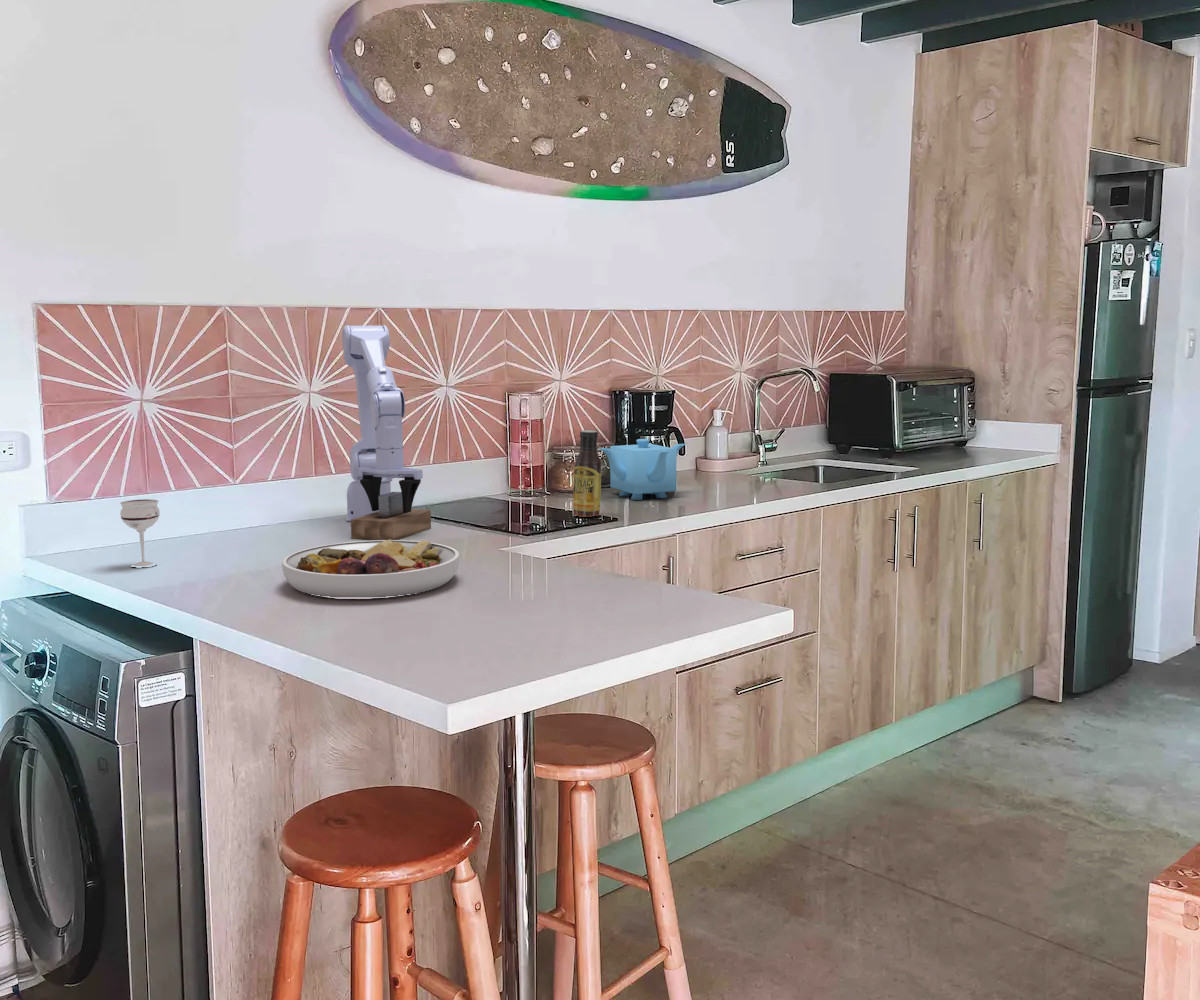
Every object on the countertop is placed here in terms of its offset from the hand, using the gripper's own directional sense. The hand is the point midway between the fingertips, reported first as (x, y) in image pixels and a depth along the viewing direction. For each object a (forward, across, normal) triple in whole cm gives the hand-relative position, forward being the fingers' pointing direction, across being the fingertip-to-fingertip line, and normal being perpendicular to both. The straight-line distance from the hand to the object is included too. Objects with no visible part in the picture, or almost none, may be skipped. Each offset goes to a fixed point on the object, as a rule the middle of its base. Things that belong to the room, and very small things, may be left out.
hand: (391, 511), depth 246 cm
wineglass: (+5, -27, -44) cm, 52 cm away
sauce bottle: (+5, +32, +33) cm, 46 cm away
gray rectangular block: (+4, 0, 0) cm, 4 cm away
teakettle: (+5, +35, +66) cm, 75 cm away
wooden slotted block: (+5, 0, 0) cm, 5 cm away
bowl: (+5, +21, -42) cm, 47 cm away
